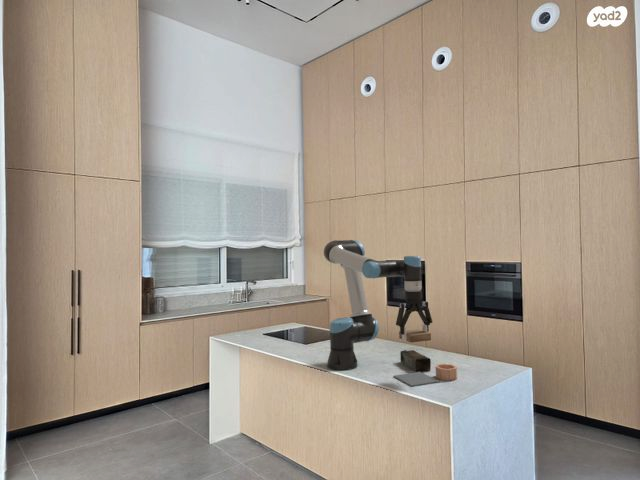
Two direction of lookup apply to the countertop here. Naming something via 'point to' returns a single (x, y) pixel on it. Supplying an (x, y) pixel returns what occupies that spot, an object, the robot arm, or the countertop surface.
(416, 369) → the beverage carton
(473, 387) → the countertop surface
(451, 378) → the pot
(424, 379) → the mat
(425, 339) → the lid
